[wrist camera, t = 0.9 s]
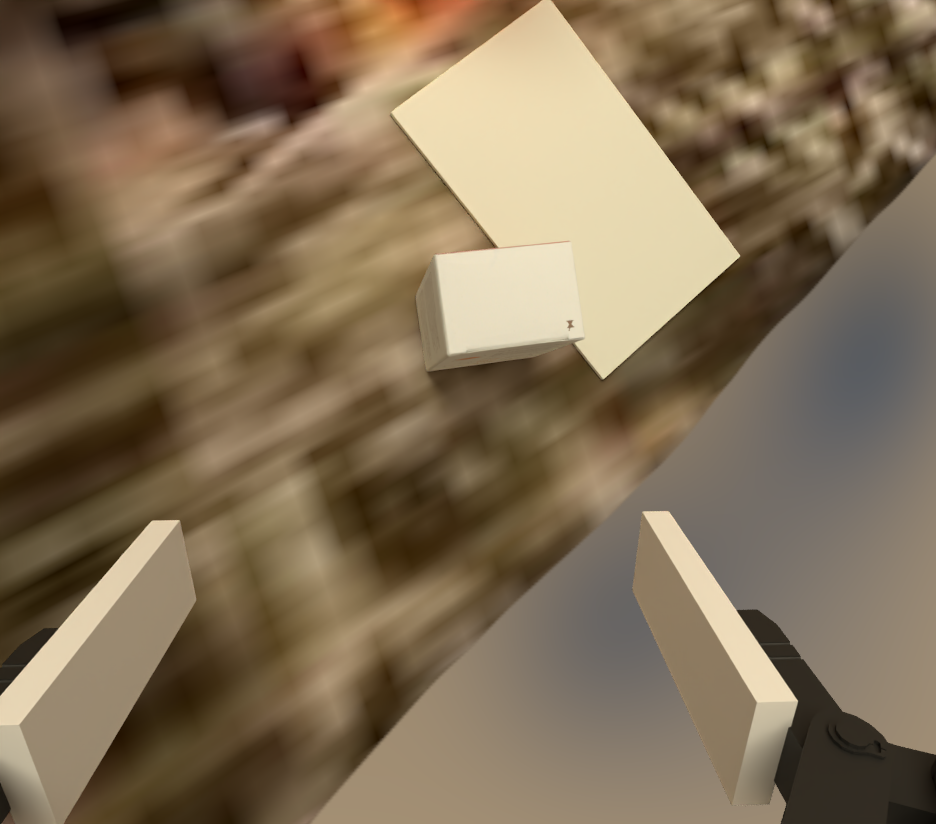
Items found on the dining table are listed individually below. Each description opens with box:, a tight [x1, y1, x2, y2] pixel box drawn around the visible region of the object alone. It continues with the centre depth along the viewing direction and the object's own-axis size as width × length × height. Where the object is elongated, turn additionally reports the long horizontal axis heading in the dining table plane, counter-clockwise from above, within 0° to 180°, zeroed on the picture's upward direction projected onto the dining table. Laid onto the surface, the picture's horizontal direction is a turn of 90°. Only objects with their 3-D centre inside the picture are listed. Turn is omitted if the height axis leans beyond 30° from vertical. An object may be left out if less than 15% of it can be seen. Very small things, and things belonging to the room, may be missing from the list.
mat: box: [391, 0, 740, 380], centre depth 43 cm, size 24×15×1 cm, turn 40°
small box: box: [416, 241, 585, 372], centre depth 36 cm, size 8×6×10 cm
